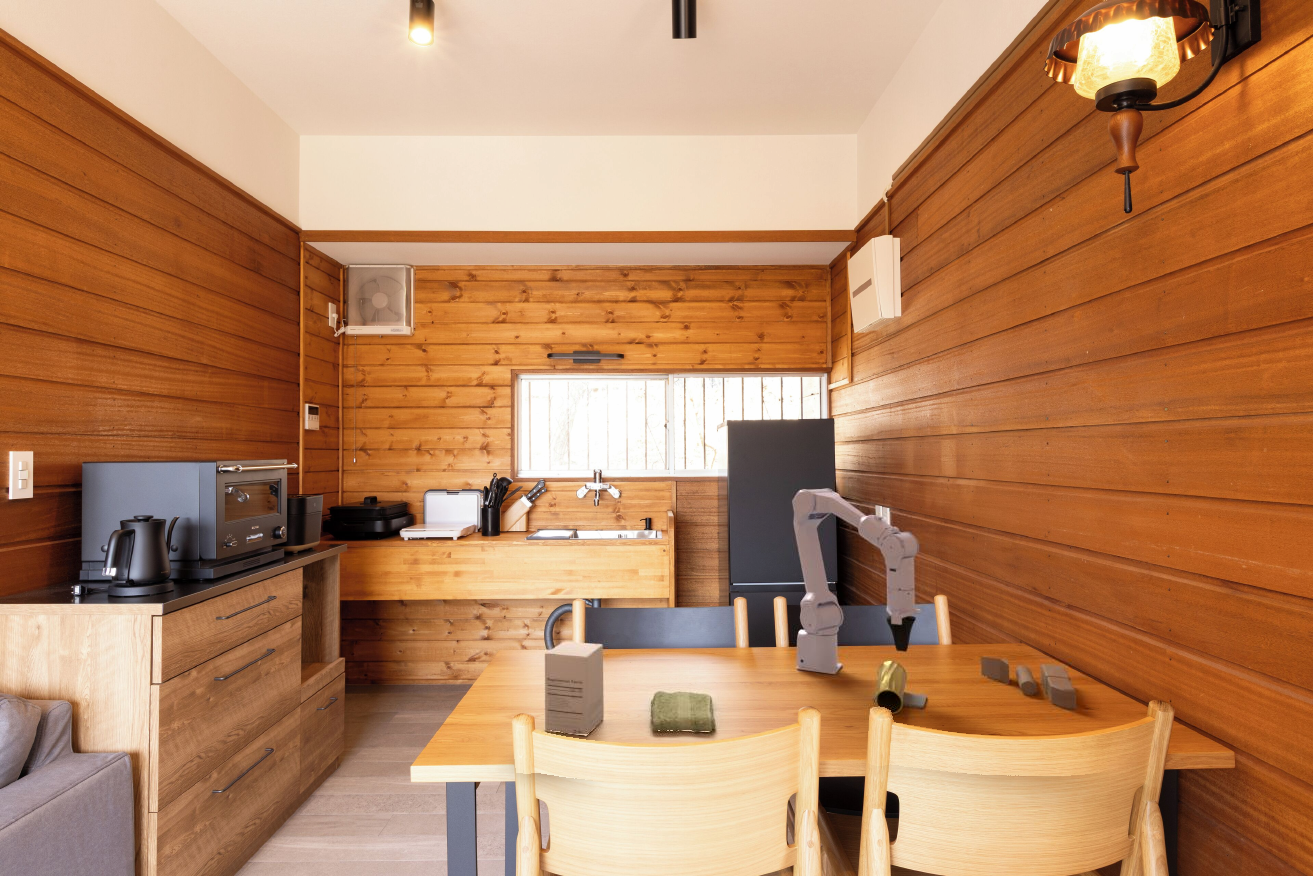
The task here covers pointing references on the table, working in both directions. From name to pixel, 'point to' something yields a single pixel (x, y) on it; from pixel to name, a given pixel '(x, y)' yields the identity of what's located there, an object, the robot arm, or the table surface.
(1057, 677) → the wooden block set
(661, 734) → the table surface
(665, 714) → the washcloth
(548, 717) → the supplement box
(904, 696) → the mat
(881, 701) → the vase
